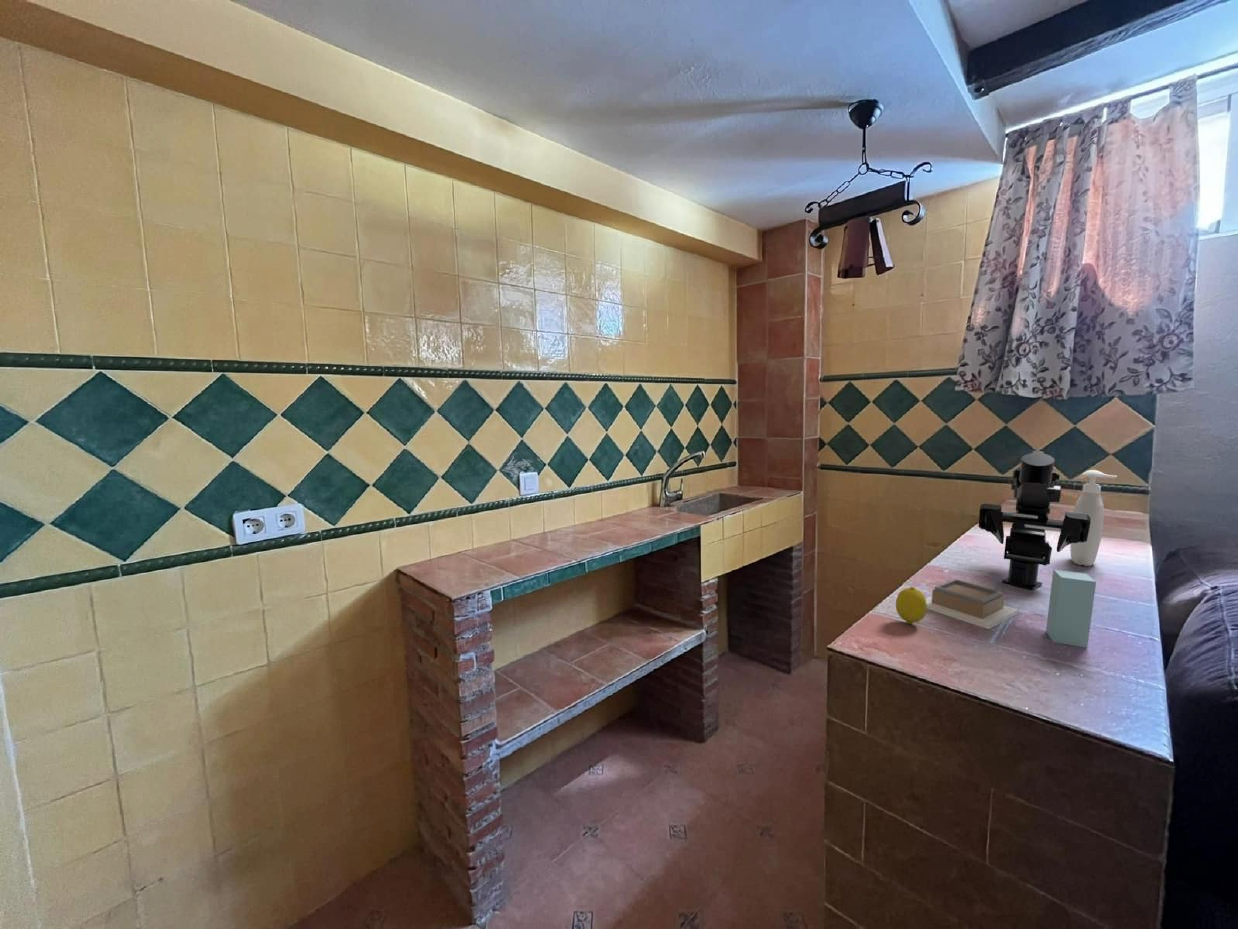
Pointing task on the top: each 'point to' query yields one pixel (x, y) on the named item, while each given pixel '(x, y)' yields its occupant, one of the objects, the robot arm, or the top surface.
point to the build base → (974, 619)
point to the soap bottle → (1095, 510)
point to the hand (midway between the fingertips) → (1029, 546)
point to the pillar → (1070, 608)
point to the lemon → (911, 605)
